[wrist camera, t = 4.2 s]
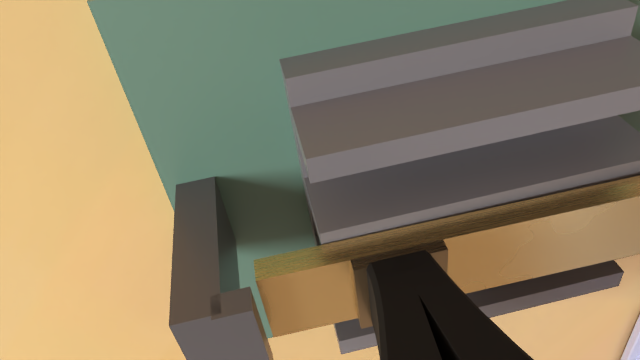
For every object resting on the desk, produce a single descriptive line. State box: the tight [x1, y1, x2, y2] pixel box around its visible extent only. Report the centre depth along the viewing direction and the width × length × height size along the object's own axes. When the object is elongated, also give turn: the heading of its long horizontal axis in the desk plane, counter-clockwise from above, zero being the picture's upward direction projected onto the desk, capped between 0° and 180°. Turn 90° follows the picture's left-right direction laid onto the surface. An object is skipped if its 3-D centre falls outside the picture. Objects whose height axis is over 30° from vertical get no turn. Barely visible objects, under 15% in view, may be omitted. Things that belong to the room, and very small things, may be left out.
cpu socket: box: [87, 0, 640, 360], centre depth 13 cm, size 14×12×5 cm
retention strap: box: [254, 176, 640, 337], centre depth 12 cm, size 11×2×1 cm, turn 97°
